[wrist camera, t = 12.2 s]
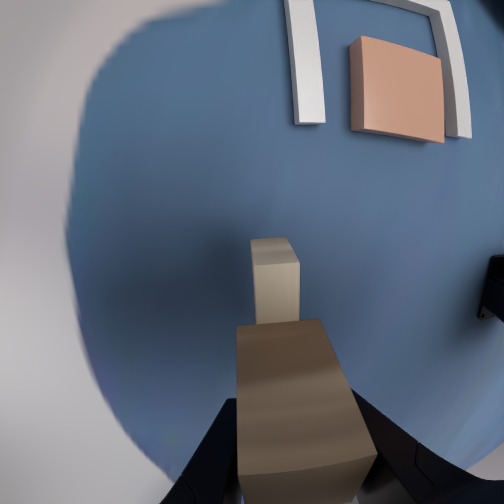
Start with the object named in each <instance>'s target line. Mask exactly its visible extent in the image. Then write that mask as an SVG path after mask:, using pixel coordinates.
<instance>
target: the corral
mask: <svg viewBox="0 0 504 504" xmlns="http://www.w3.org/2000/svg"><path fill="white" fill-rule="evenodd" d="M370 1H375V2H379V3H384V4H388V5H392V6H396V7H399V8H403V9H407V10H410V11H413V12H417V13H420V14H423V15H426V16H429V18H430V22H431V26H432V31H433V36H434V40H435V45H436V51H437V56H438V58H439V59H441V68H442V80H443V96H444V115H445V134H446V136H450V137H456V138H469V139H472V133H471V116H470V104H469V94H468V86H467V78H466V72H465V65H464V60H463V54H462V49H461V44H460V40H459V35H458V31H457V27H456V23H455V19H454V15H453V12H452V8H451V5H450V2H449V1H447V0H370ZM284 7H285V16H286V25H287V34H288V45H289V55H290V67H291V79H292V92H293V106H294V122H295V125H320V124H323V123H325V108H324V94H323V82H322V71H321V61H320V52H319V43H318V35H317V27H316V19H315V12H314V6H313V0H284Z"/></svg>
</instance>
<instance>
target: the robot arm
mask: <svg viewBox="0 0 504 504" xmlns="http://www.w3.org/2000/svg"><path fill="white" fill-rule="evenodd" d="M494 316H496V317H497V318H498V319H500V320H501V321H502V322H503V323H504V255H497V256H493V257H492V259H491V261H490V266H489V271H488V275H487V280H486V284H485V288H484V292H483V296H482V300H481V304H480V307H479V311H478V314H477V318H478V319H479V320H484V319H487V318H490V317H494ZM350 389H351V388H350ZM351 391H352V393H353V396H354V398H355V400H356V403H357V405H358V407H359V410H360V412H361V415H362V417H363V419H364V422H365V424H366V427H367V429H368V431H369V434H370V436H371V439H372V441H373V444H374V446H375V449H376V451H377V456H376V458H375V460H374V462H373V464H372V466H371V468H370V470H369V472H368V474H367V476H366V478H365V480H364V482H363V483H362V485H361V487H360V489H359V491H358V492H357V494H356V496H357V499H358V502H359V504H504V480H485V479H481V478H478V477H476V476H474V475H472V474H470V473H468V472H466V471H464V470H462V469H461V468H459V467H457V466H455V465H453V464H451V463H450V462H448V461H446V460H444V459H443V458H441V457H439V456H438V455H436V454H435V453H433V452H432V451H431V450H429V449H428V448H426V447H425V446H424V445H422V444H421V443H420V442H419V443H418V441H417V440H416V439H414V438H413V437H412V436H410V435H409V434H408V433H407V432H405V431H404V430H403V429H401V428H400V427H399V426H398V425H396V424H395V423H394V422H392V421H391V420H390V419H389V418H387V417H386V416H385V415H384V414H382V413H381V412H380V411H379V410H377V409H376V408H375V407H374V406H372V405H371V404H370V403H369V402H367V401H366V400H365V399H364V398H362V397H361V396H360V395H359V394H357V393H356V392H355V391H354V390H353V389H351ZM181 475H182V476H179V478H178V479H177V481H176V482H175V484H174V485H173V487H172V488H171V490H170V491H169V492H168V494H167V495H166V497H165V498H164V499H163V500H162V501H161V503H160V504H241V496H242V490H241V486H240V482H239V478H238V452H237V398H229V399H227V400H226V401H225V403H224V405H223V406H222V408H221V410H220V412H219V413H218V415H217V417H216V418H215V420H214V422H213V423H212V425H211V427H210V428H209V430H208V432H207V433H206V435H205V437H204V438H203V440H202V441H201V443H200V445H199V446H198V448H197V450H196V451H195V453H194V454H193V456H192V458H191V459H190V461H189V462H188V464H187V466H186V467H185V469H184V470H183V472H182V473H181Z"/></svg>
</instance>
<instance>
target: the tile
mask: <svg viewBox="0 0 504 504" xmlns="http://www.w3.org/2000/svg"><path fill="white" fill-rule="evenodd" d="M349 55H350V80H351V131H359V132H366V133H374V134H380V135H387V136H393V137H399V138H405V139H410V140H415V141H420V142H425V143H444V96H443V80H442V68H441V59H439V58H436V57H434V56H431V55H428V54H425V53H422V52H419V51H416V50H413V49H410V48H407V47H404V46H400V45H397V44H393V43H390V42H386V41H382V40H378V39H374V38H370V37H366V36H360V37H359V38H358V39H356V40H355V41H354V42H353V43H352V44H351V45H349Z"/></svg>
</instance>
